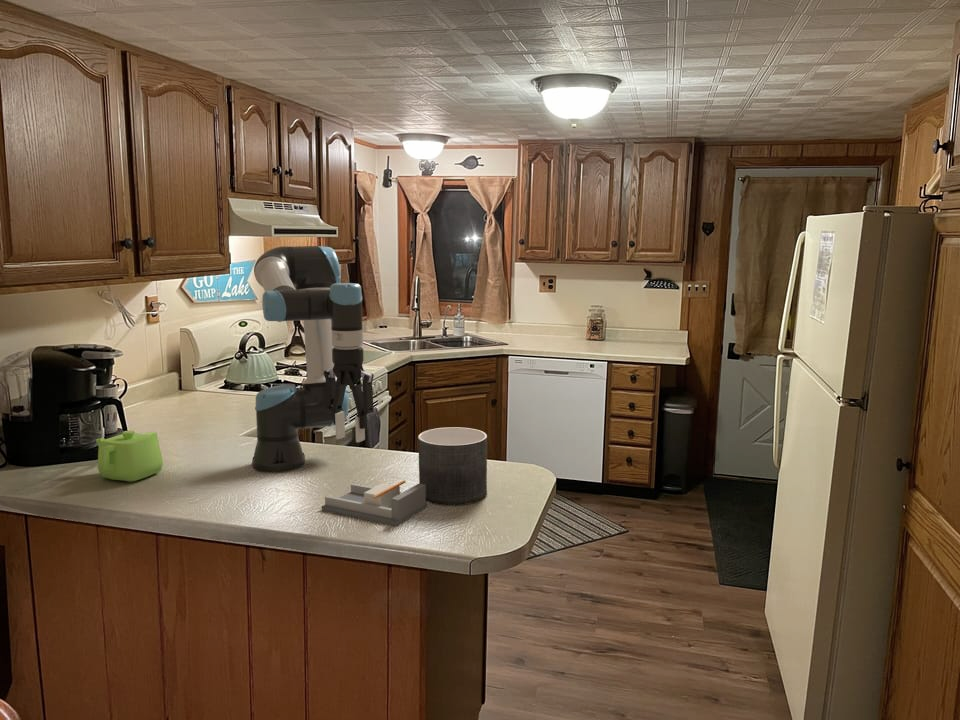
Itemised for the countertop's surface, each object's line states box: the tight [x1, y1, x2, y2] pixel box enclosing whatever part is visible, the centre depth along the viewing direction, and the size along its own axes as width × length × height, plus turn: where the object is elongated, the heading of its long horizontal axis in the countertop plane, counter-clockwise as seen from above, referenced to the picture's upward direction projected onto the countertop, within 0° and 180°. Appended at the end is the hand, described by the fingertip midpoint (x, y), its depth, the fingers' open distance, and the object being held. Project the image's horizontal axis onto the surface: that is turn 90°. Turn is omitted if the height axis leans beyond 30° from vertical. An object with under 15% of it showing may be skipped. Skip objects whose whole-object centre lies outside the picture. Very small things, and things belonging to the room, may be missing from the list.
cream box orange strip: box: [364, 480, 406, 508], centre depth 178 cm, size 6×13×5 cm, turn 153°
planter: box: [417, 426, 488, 506], centre depth 189 cm, size 18×18×16 cm
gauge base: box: [321, 483, 429, 527], centre depth 179 cm, size 22×14×6 cm, turn 63°
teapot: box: [95, 430, 164, 483], centre depth 204 cm, size 18×20×13 cm
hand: (350, 439), depth 180 cm, fingers open, 5 cm apart
